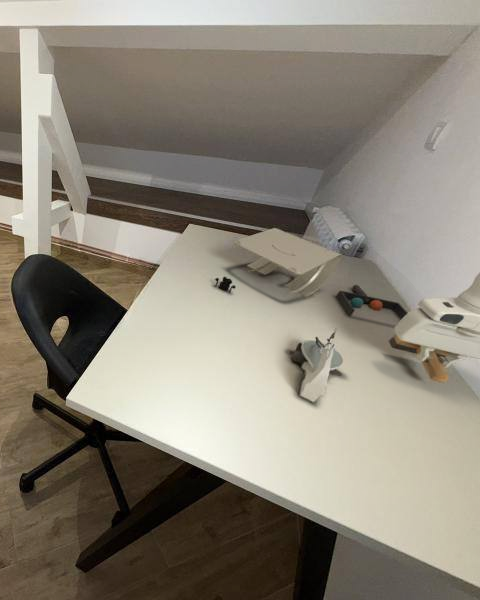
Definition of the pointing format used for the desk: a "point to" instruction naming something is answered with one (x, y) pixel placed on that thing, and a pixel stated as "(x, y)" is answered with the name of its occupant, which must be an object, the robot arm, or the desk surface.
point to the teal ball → (356, 302)
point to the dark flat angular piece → (366, 302)
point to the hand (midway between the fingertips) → (431, 362)
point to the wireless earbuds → (225, 284)
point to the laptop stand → (292, 259)
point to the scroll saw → (316, 366)
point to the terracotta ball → (376, 304)
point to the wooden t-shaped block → (432, 367)
